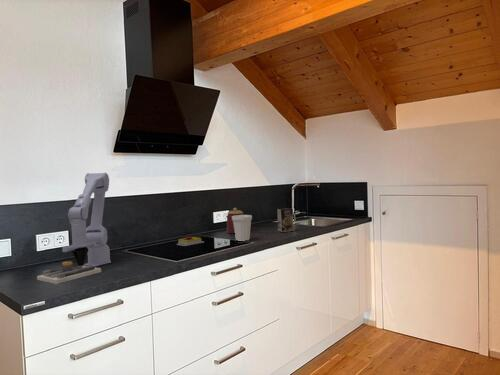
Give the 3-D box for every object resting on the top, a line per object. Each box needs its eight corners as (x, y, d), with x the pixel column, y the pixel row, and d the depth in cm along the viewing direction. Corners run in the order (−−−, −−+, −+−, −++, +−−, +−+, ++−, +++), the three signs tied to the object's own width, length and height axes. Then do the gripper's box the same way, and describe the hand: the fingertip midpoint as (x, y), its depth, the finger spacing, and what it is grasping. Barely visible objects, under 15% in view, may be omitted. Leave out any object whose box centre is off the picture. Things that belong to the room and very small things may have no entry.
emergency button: (175, 238, 219) (195, 234, 230) (175, 245, 220) (195, 241, 230) (184, 239, 213) (204, 235, 224) (184, 246, 213) (205, 242, 224)
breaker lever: (68, 270, 156) (68, 261, 156) (72, 271, 154) (72, 261, 154) (62, 272, 153) (62, 262, 153) (67, 273, 152) (66, 263, 152)
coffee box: (282, 233, 247) (281, 209, 246) (277, 232, 252) (276, 208, 252) (293, 231, 250) (293, 208, 250) (289, 230, 256) (288, 207, 256)
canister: (248, 231, 260) (247, 206, 260) (240, 234, 248) (239, 208, 248) (231, 231, 265) (231, 206, 265) (223, 233, 254) (222, 208, 253)
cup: (255, 241, 218) (254, 216, 218) (234, 243, 215) (233, 217, 215) (250, 238, 230) (249, 214, 230) (230, 240, 227) (229, 215, 227)
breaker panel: (82, 268, 167) (81, 261, 167) (101, 271, 159) (100, 264, 159) (37, 279, 150) (36, 272, 150) (56, 284, 142) (55, 276, 142)
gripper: (68, 237, 150) (70, 270, 150) (99, 232, 162) (101, 262, 163) (58, 236, 154) (60, 268, 154) (90, 231, 166) (91, 261, 166)
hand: (80, 265), depth 159 cm, fingers closed
